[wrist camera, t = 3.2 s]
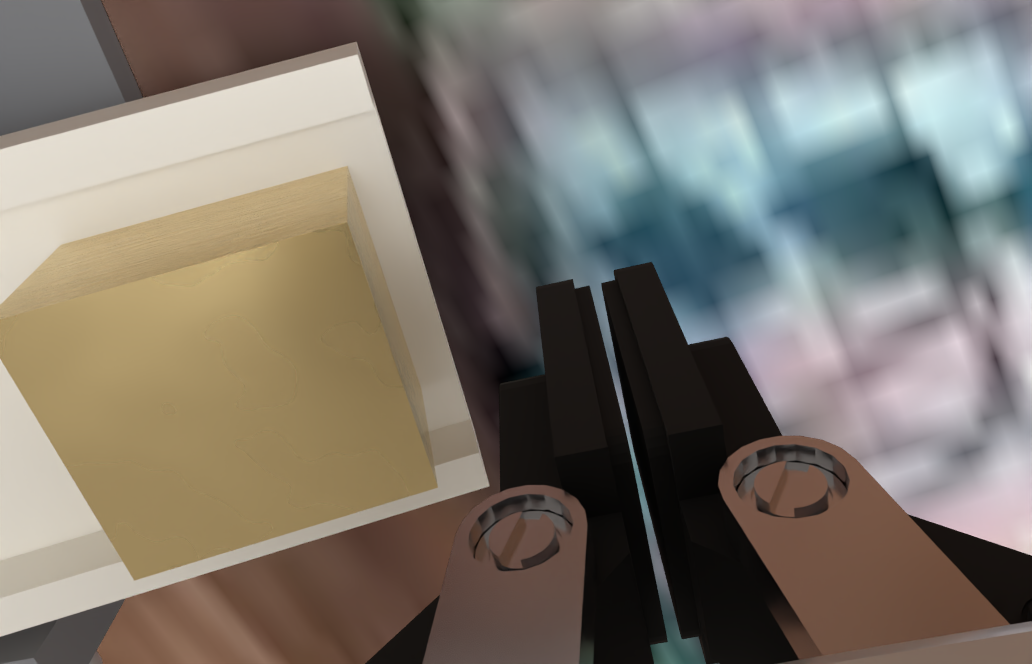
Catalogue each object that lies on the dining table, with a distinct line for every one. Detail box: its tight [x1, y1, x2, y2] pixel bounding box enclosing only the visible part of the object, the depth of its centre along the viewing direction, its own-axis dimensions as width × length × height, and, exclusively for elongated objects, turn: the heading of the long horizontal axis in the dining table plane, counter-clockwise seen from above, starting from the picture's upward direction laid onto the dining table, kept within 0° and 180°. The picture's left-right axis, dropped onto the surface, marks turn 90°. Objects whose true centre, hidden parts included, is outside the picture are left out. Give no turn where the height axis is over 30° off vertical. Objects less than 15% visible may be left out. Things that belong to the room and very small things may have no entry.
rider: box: [0, 166, 438, 581], centre depth 16 cm, size 6×6×4 cm
